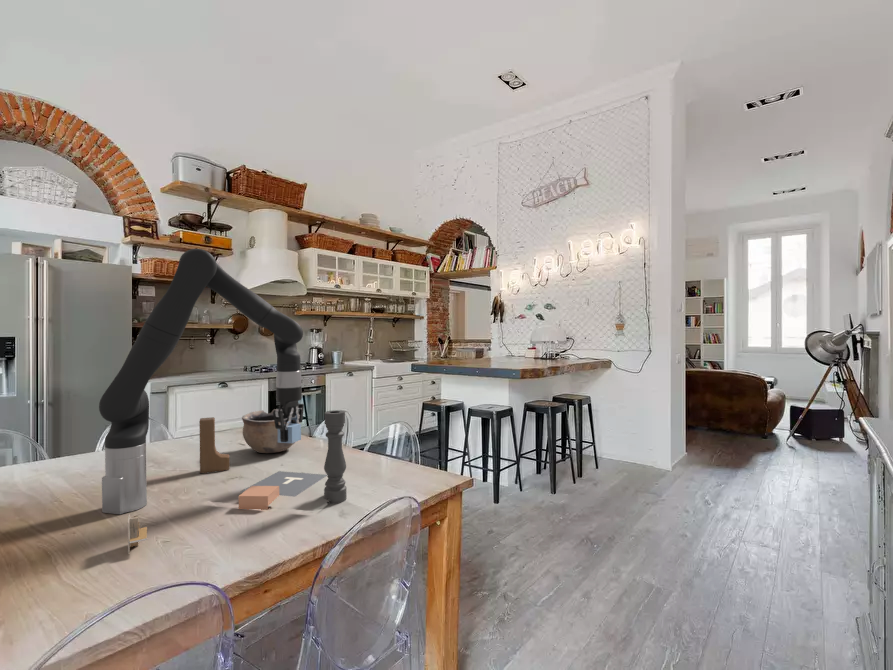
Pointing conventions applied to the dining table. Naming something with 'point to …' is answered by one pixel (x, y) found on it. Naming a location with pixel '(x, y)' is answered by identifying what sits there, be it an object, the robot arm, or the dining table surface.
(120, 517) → the dining table surface
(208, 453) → the wooden block
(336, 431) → the candle holder
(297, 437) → the blue cube
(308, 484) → the letter board
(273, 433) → the ceramic bowl
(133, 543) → the architectural model
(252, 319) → the robot arm
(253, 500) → the terracotta block
